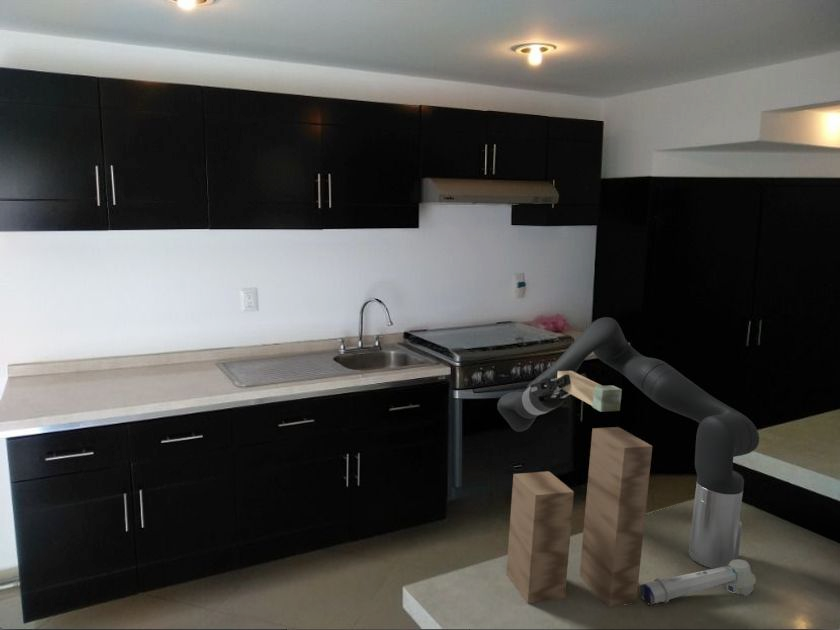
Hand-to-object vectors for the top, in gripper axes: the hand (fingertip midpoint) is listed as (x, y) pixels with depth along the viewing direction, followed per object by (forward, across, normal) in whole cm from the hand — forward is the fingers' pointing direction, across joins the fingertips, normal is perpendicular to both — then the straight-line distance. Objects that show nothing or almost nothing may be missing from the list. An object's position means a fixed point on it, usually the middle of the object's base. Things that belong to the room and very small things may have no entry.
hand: (576, 378), depth 137 cm
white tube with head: (+1, +17, +46) cm, 49 cm away
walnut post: (-4, 0, +43) cm, 43 cm away
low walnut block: (-7, -14, +41) cm, 44 cm away
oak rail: (+2, 0, +5) cm, 5 cm away
